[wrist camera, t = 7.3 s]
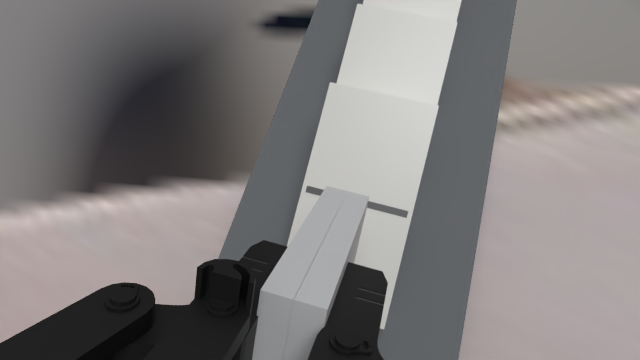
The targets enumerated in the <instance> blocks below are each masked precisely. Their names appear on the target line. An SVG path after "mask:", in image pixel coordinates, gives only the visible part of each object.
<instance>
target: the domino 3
mask: <svg viewBox="0 0 640 360" xmlns="http://www.w3.org/2000/svg"><path fill="white" fill-rule="evenodd" d="M438 108H439V105H434V104H429V103H425V102H420V101H416V100H411V99H406V98H402V97H397V96H392V95H388V94H383V93H378V92H374V91H369V90H364V89H360V88H355V87H350V86H346V85H341V84H337V83H332V82H330V84H329V88H328V91H327V95H326V99H325V103H324V107H323V110H322V114H321V118H320V122H319V126H318V129H317V133H316V137H315V141H314V145H313V148H312V152H311V156H310V160H309V163H308V167H307V171H306V175H305V179H304V182H303V186H302V190H301V194H300V198H299V201H298V205H297V209H296V213H295V217H294V220H293V224H292V228H291V232H290V236H289V239H288V243H287V247H288V246H289V244H290V243H291V241H292V240H293V238H294V236H295V235H296V233H297V232H298V230H299V229H300V227H301V225H302V224H303V222H304V221H305V219H306V218H307V216H308V214H309V213H310V211H311V210H312V208H313V207H314V205H315V203H316V202H317V200H318V199H319V197H320V196H321V194H322V192H323V191H324V189H325V188H326V186H329V187H333V188H337V189H341V190H345V191H349V192H353V193H357V194H361V195H365V196H369V200H368V205H367V209H366V213H365V218H364V222H363V226H362V231H361V235H360V239H359V244H358V248H357V252H356V256H355V261H354V264H358V265H361V266H365V267H368V268H372V269H376V270H379V271H383V274H384V276H385V278H386V280H387V282H388V286H387V291H386V296H385V302H384V308H383V313H382V319H381V324H380V329H384V328H385V324H386V320H387V316H388V312H389V308H390V304H391V299H392V295H393V291H394V287H395V283H396V279H397V275H398V271H399V267H400V263H401V259H402V255H403V251H404V246H405V242H406V238H407V234H408V230H409V226H410V222H411V218H412V214H413V210H414V206H415V202H416V198H417V194H418V189H419V185H420V181H421V177H422V173H423V169H424V165H425V161H426V157H427V153H428V149H429V145H430V141H431V136H432V132H433V128H434V124H435V120H436V116H437V112H438Z"/></svg>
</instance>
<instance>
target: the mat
mask: <svg viewBox="0 0 640 360" xmlns="http://www.w3.org/2000/svg"><path fill="white" fill-rule="evenodd" d="M363 1H364V0H319V1H318V3H317V6H316V8H315V11H314V14H313V16H312V19H311V21H310V24H309V27H308V29H307V32H306V34H305V37H304V39H303V42H302V45H301V47H300V50H299V52H298V55H297V58H296V60H295V63H294V65H293V68H292V70H291V73H290V76H289V78H288V81H287V83H286V86H285V88H284V91H283V94H282V97H281V99H280V101H279V104H278V106H277V109H276V112H275V114H274V117H273V119H272V122H271V124H270V127H269V130H268V132H267V135H266V138H265V140H264V143H263V145H262V148H261V150H260V153H259V156H258V158H257V161H256V163H255V166H254V168H253V171H252V173H251V176H250V179H249V181H248V184H247V186H246V189H245V191H244V194H243V197H242V199H241V202H240V204H239V207H238V209H237V212H236V215H235V217H234V220H233V222H232V225H231V228H230V230H229V233H228V235H227V238H226V240H225V243H224V246H223V248H222V251H221V253H220V256H219V258H218V259H230V260H236V261H239V260H240V259H241V258H243V255H244V254H245V253H246V252H247V250H248V249H249V248H250V247H251V246H252V245H254V244H257V243H259V242H261V241H263V240H266V241H269V242H273V243H277V244H280V245H284V246H287V243H288V239H289V236H290V232H291V228H292V224H293V220H294V217H295V213H296V209H297V205H298V201H299V198H300V194H301V190H302V186H303V182H304V179H305V175H306V171H307V167H308V163H309V160H310V156H311V152H312V148H313V145H314V141H315V137H316V133H317V129H318V126H319V122H320V118H321V114H322V110H323V107H324V103H325V99H326V95H327V91H328V88H329V84H330V82H332V83H337V79H338V75H339V71H340V67H341V64H342V60H343V56H344V52H345V49H346V45H347V41H348V37H349V33H350V30H351V26H352V22H353V18H354V15H355V11H356V7H357V4H363ZM516 2H517V0H462V1H461V5H460V9H459V13H458V17H457V21H456V22H458V23H457V27H456V31H455V35H454V39H453V43H452V47H451V51H450V56H449V60H448V64H447V68H446V72H445V76H444V80H443V84H442V88H441V92H440V96H439V100H438V104H437V105H439V108H438V112H437V116H436V120H435V124H434V128H433V132H432V136H431V141H430V145H429V149H428V153H427V157H426V161H425V165H424V169H423V173H422V177H421V181H420V185H419V189H418V194H417V198H416V202H415V206H414V210H413V214H412V218H411V222H410V226H409V230H408V234H407V238H406V242H405V246H404V251H403V255H402V259H401V263H400V267H399V271H398V275H397V279H396V283H395V287H394V291H393V295H392V299H391V304H390V308H389V312H388V316H387V320H386V324H385V328H384V329H380V330H379V335H378V349H379V352H380V354H381V356H382V358H383V359H384V360H458V357H459V351H460V345H461V339H462V333H463V327H464V320H465V314H466V308H467V302H468V296H469V290H470V284H471V278H472V271H473V265H474V259H475V253H476V247H477V241H478V235H479V229H480V223H481V216H482V210H483V204H484V198H485V192H486V186H487V180H488V174H489V167H490V161H491V155H492V149H493V143H494V137H495V131H496V125H497V118H498V112H499V106H500V100H501V94H502V88H503V82H504V76H505V70H506V63H507V57H508V51H509V45H510V39H511V32H512V26H513V21H514V14H515V8H516Z"/></svg>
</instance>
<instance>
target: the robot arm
mask: <svg viewBox="0 0 640 360" xmlns="http://www.w3.org/2000/svg"><path fill="white" fill-rule="evenodd" d="M368 200H369V196H365V195H361V194H357V193H353V192H349V191H345V190H341V189H337V188H333V187H329V186H326V188H325V189H324V191H323V192H322V194H321V196H320V197H319V199H318V200H317V202H316V203H315V205H314V207H313V208H312V210H311V211H310V213H309V214H308V216H307V218H306V219H305V221H304V222H303V224H302V225H301V227H300V229H299V230H298V232H297V233H296V235H295V236H294V238H293V240H292V241H291V243H290V244H289V246H288V247H287V246H284V245H280V244H277V243H273V242H269V241H266V240H263V241H261V242H259V243H257V244H254V245H252V246H251V247H250V248H249V249H248V250H247V252H246V253H245V254H244V255H243V258H241V259H240V260H239V261H236V260H230V259H214V260H211V261H207V262H204V263H203V264H201V265H200V266H199V267H197V277H196V288H195V299H194V300H193V301H192V302H191V303H190V305H161V304H155V297H154V294H153V292H152V291H151V290H150V289H148V288H147V287H146V286H143V285H140V284H137V283H118V284H112V285H109V286H106V287H104V288H101V289H99V290H98V291H96V292H94V293H92V294H90V295H88V296H86V297H85V298H83V299H81V300H79V301H77V302H75V303H74V304H72V305H70V306H68V307H66V308H64V309H63V310H61V311H59V312H57V313H55V314H53V315H51V316H50V317H48V318H46V319H44V320H42V321H40V322H39V323H37V324H35V325H33V326H31V327H29V328H28V329H26V330H24V331H22V332H20V333H18V334H16V335H15V336H13V337H11V338H9V339H7V340H5V341H4V342H2V343H0V360H384V359H383V358H382V356H381V354H380V352H379V349H378V335H379V330H380V324H381V319H382V313H383V308H384V302H385V296H386V291H387V286H388V282H387V280H386V278H385V276H384V274H383V271H379V270H376V269H372V268H368V267H365V266H361V265H358V264H354V261H355V256H356V252H357V248H358V244H359V239H360V235H361V231H362V226H363V222H364V218H365V213H366V209H367V205H368Z"/></svg>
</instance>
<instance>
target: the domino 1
mask: <svg viewBox="0 0 640 360" xmlns="http://www.w3.org/2000/svg"><path fill="white" fill-rule="evenodd" d="M461 1H462V0H364V1H363V5H368V6H373V7H379V8H384V9H389V10H395V11H400V12H405V13H411V14H416V15H422V16H427V17H432V18H438V19H443V20H448V21H454V22H456V21H457V17H458V13H459V9H460V5H461Z"/></svg>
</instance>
